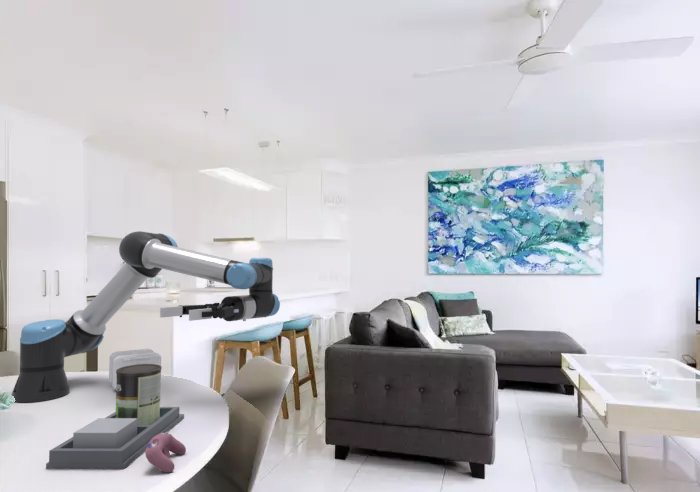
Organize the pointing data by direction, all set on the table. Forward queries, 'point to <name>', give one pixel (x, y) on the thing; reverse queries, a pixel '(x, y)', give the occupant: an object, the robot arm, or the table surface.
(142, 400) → the coffee can
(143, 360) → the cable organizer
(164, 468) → the video game controller
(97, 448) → the grey compartment tray
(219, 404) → the table surface
